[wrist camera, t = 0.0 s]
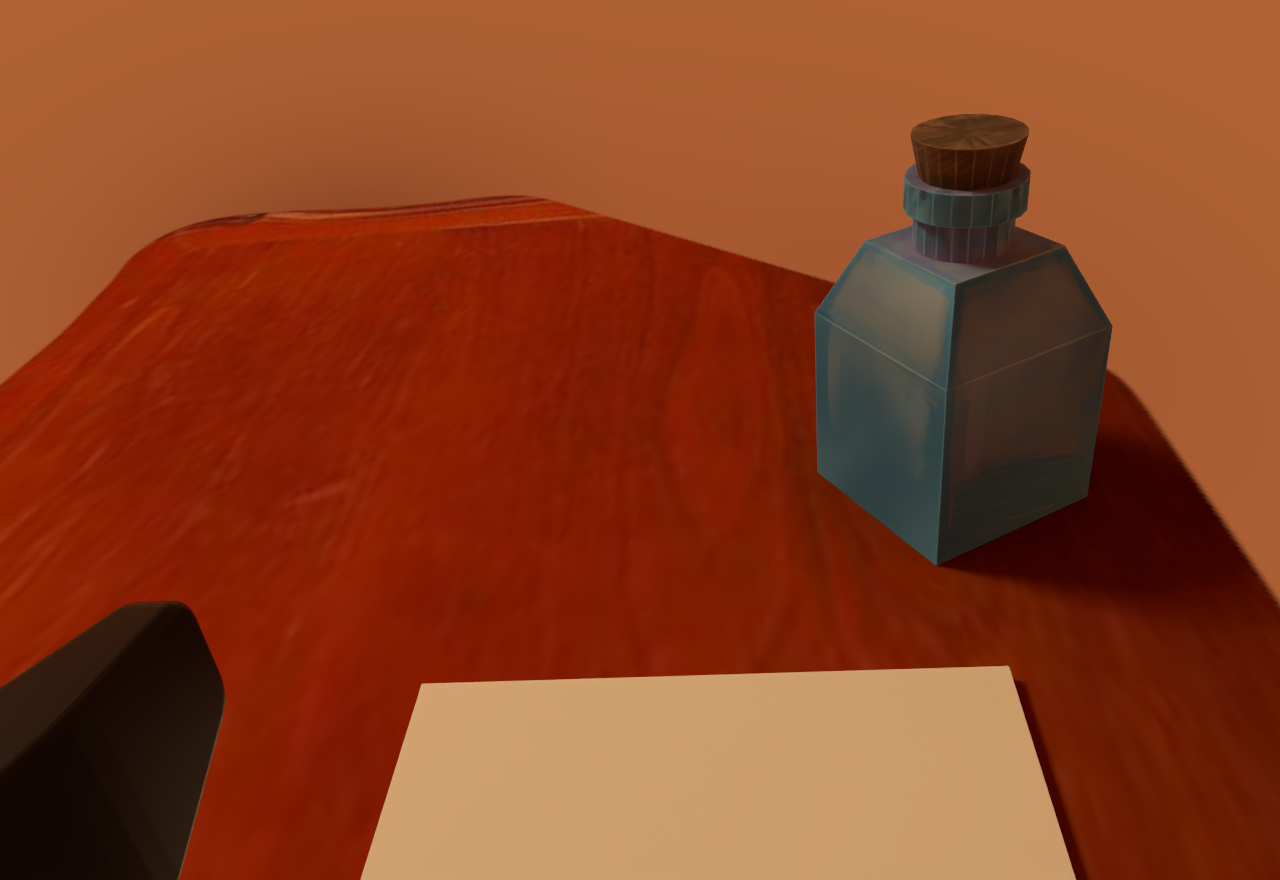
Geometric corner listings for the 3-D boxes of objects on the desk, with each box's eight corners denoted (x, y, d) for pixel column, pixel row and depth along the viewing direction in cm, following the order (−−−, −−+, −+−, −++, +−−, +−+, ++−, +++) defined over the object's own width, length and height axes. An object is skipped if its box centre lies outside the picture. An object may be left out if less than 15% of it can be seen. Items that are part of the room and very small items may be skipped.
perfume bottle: (956, 416, 40) (977, 86, 33) (1086, 497, 35) (1141, 130, 29) (817, 472, 38) (811, 132, 31) (936, 566, 33) (958, 187, 27)
